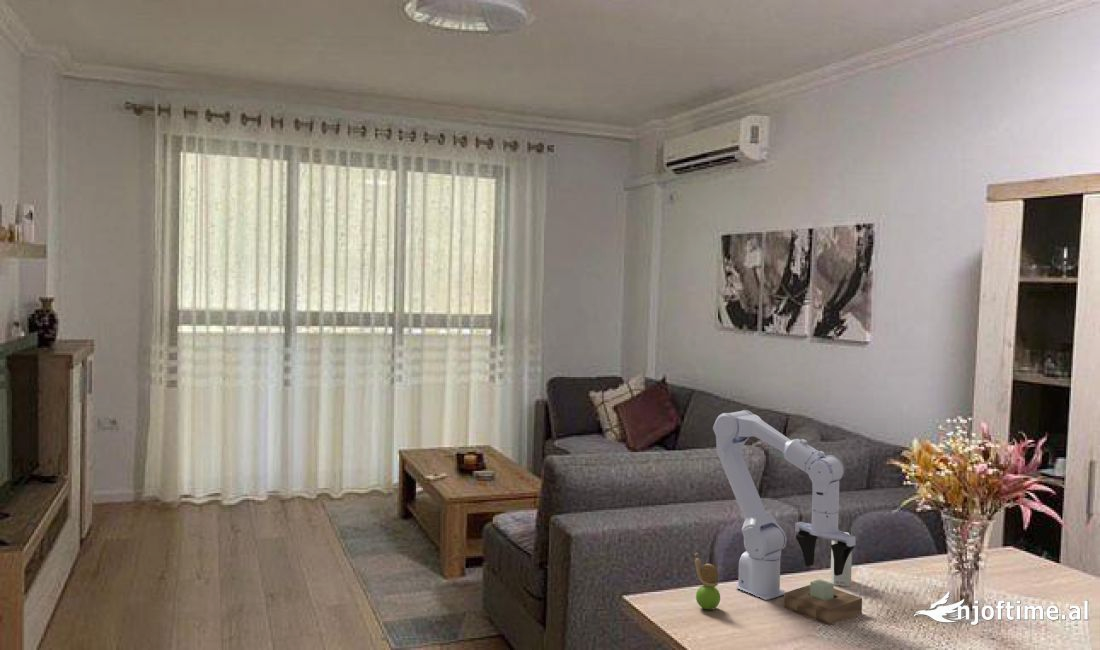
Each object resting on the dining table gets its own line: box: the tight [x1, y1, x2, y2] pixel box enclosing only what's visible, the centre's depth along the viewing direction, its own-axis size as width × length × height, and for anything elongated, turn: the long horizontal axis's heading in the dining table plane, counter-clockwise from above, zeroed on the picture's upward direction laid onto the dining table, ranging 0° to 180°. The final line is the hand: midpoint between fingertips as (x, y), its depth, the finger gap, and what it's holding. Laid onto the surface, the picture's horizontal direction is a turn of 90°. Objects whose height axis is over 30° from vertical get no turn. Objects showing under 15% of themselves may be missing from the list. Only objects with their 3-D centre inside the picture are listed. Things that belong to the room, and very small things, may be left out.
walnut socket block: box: [783, 584, 863, 626], centre depth 185 cm, size 12×12×4 cm
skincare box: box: [830, 531, 853, 587], centre depth 204 cm, size 6×4×12 cm
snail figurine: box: [694, 552, 721, 611], centre depth 186 cm, size 5×6×12 cm
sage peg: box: [809, 578, 835, 601], centre depth 185 cm, size 4×4×6 cm
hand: (823, 569), depth 185 cm, fingers open, 7 cm apart
